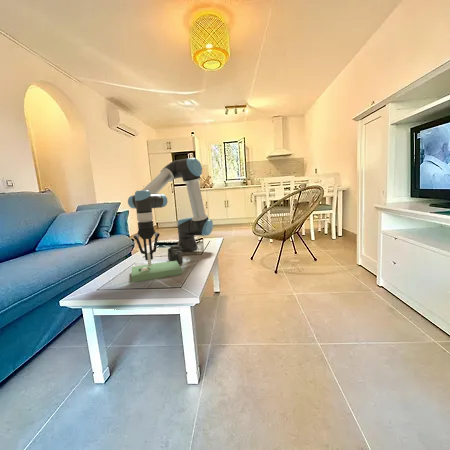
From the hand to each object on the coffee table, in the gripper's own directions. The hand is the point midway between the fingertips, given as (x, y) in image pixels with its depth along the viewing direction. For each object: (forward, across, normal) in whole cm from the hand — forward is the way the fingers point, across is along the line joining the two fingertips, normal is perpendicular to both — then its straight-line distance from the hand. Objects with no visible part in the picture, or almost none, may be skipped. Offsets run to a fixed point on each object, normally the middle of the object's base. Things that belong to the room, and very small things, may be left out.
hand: (149, 265), depth 127 cm
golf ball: (+2, +3, +1) cm, 4 cm away
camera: (+5, -16, -17) cm, 24 cm away
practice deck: (+4, -3, 0) cm, 5 cm away
